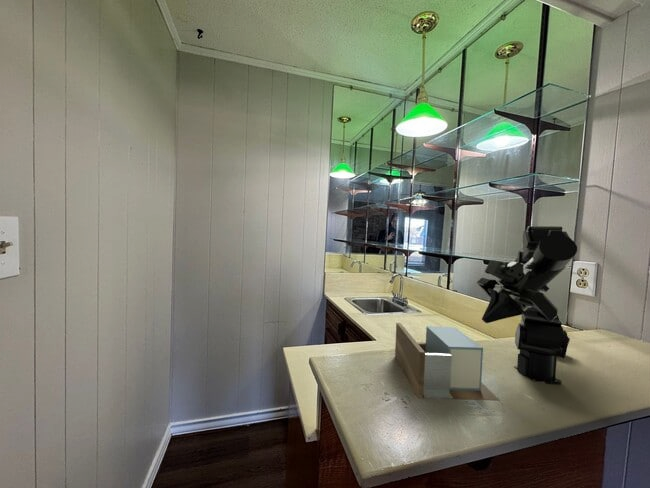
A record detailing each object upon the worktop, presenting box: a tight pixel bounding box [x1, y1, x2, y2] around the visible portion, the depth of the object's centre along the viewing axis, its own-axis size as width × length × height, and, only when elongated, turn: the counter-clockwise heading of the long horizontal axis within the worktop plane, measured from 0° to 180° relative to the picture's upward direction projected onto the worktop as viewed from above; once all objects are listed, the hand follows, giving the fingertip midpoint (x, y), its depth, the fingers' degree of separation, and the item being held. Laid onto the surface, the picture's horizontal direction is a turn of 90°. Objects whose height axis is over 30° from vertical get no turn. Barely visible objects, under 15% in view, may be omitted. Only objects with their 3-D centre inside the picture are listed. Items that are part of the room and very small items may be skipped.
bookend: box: [423, 353, 454, 400], centre depth 52 cm, size 6×2×8 cm, turn 90°
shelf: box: [394, 322, 501, 401], centre depth 60 cm, size 16×17×10 cm
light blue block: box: [425, 325, 484, 391], centre depth 60 cm, size 7×12×9 cm, turn 0°
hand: (483, 321), depth 60 cm, fingers closed
